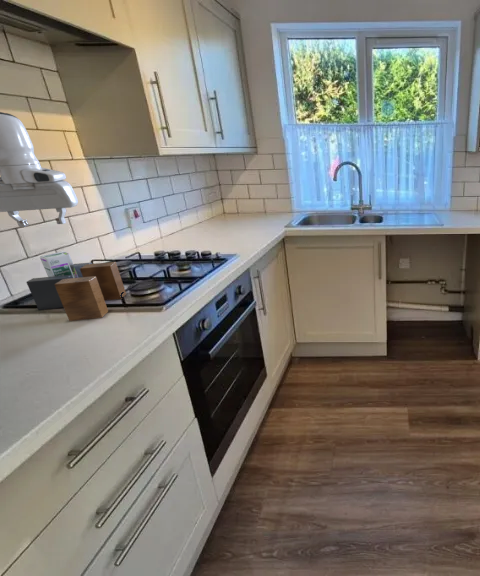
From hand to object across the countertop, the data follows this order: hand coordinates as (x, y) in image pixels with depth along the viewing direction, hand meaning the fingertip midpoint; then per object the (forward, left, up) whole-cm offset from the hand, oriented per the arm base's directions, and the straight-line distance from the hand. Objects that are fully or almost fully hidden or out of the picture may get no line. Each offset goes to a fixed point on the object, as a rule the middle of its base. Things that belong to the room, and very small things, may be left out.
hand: (43, 225), depth 105 cm
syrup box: (0, 0, -24) cm, 24 cm away
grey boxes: (0, 0, -23) cm, 23 cm away
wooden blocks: (+12, -10, -23) cm, 28 cm away
